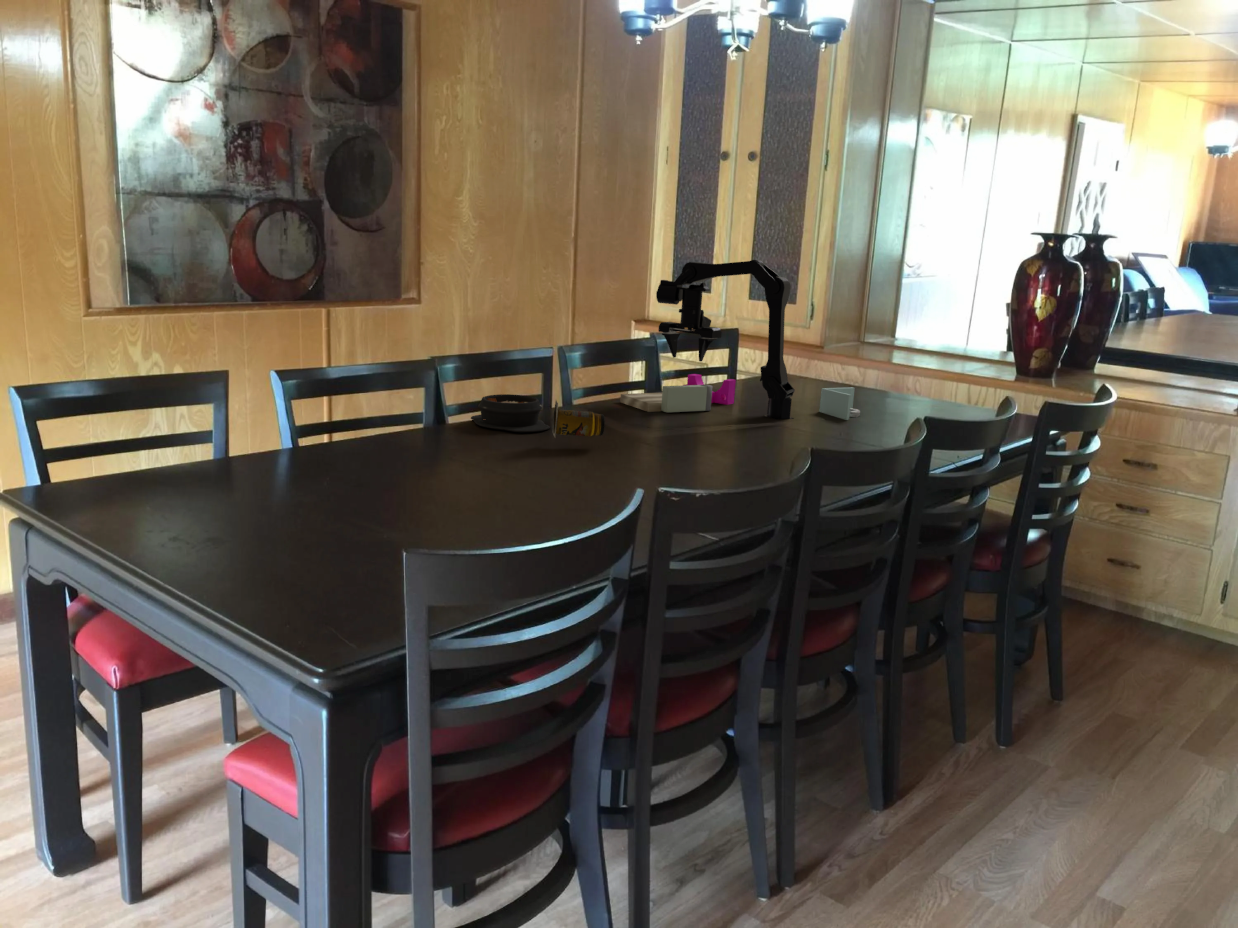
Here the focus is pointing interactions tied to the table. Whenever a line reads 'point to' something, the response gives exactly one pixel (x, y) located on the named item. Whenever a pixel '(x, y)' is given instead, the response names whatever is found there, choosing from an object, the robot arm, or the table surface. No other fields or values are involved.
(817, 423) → the table surface
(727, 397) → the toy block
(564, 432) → the yellow can
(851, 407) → the right angle wall
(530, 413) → the casserole
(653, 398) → the stool seat
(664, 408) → the pale grey rectangular block
